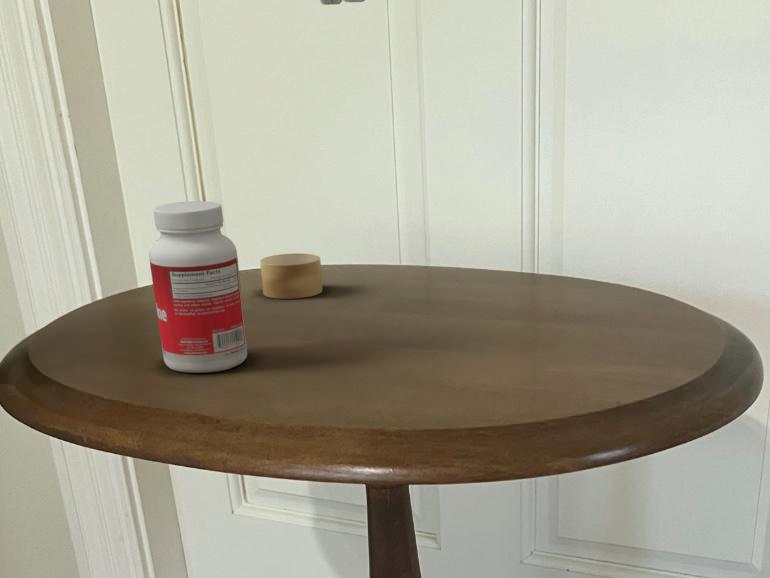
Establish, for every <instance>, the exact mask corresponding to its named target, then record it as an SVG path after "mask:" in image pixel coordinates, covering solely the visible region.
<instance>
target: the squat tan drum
mask: <svg viewBox="0 0 770 578" xmlns="http://www.w3.org/2000/svg"><path fill="white" fill-rule="evenodd" d="M259 264H260V274H261V286H262V287H261V288H262V294H263V296H265V297H267V298H271V299H278V300H293V299H305V298H310V297H314V296H317V295H320V294H321V293H322V292H323V279H322V278H323V277H322V276H323V275H322V265H321V264H322V263H321V257H320V256H319V255H316V254H313V253H282V254H274V255H269V256H266V257H263V258H261V259H260V261H259Z"/></svg>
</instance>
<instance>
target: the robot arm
mask: <svg viewBox="0 0 770 578" xmlns="http://www.w3.org/2000/svg"><path fill="white" fill-rule="evenodd" d="M365 1H366V0H319V2H320V4H322V5H323V6H331V5H333V6H335V5H341V3H342V2H345V3H363V2H365Z"/></svg>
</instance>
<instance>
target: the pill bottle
mask: <svg viewBox="0 0 770 578" xmlns="http://www.w3.org/2000/svg"><path fill="white" fill-rule="evenodd" d="M153 218H154V226H155V227H156V228H155V230H156V231H157V232H159V235H160V237H159V238H158V239H157V240H155V241H154V242H153V244H152V245H151V247H150V248H149V252H148V257H149V268H150V274H151V280H152V287H153V288H152V289H153V295H154V301H155V308H156V316H157V323H158V329H159V336H160V337H159V338H160V344H161V350H162V351H161V352H162V357H163V361H164V364H165V366H167V368H169V369H171V370H173V371H175V372H180V373H189V374H203V373H204V374H206V373H217V372H223V371H226V370H230V369H233V368H235V367H237V366H239V365H241V364H242V363H244V361H245V360H246V359H247V357H248V344H247V333H246V326H245V318H244V308H243V298H242V297H243V296H242V289H241V279H240V268H239V258H238V257H239V256H238V252H237V251H238V250H237V246H236V244H235V243H234V242H233V240H232V239H230V238H229V237H227V236H226V235H224V234H222V232H221V228H223V227H224V216H223V207H222V204H221V203H218V202H215V201H204V200H202V201H201V200H190V201H189V200H187V201H175V202H168V203H164V204H160V205H157V206H155V207H154V208H153Z"/></svg>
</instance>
